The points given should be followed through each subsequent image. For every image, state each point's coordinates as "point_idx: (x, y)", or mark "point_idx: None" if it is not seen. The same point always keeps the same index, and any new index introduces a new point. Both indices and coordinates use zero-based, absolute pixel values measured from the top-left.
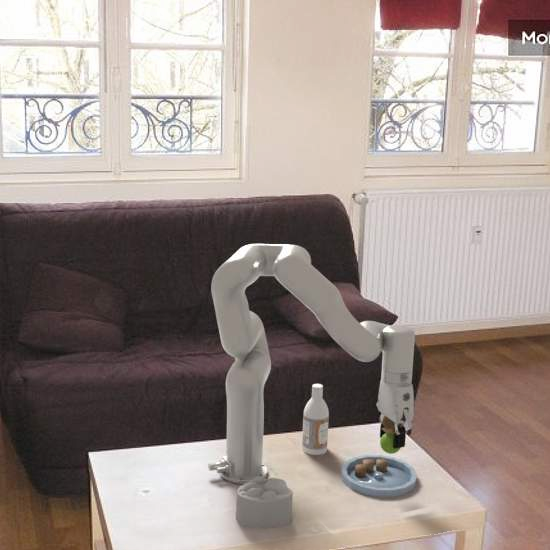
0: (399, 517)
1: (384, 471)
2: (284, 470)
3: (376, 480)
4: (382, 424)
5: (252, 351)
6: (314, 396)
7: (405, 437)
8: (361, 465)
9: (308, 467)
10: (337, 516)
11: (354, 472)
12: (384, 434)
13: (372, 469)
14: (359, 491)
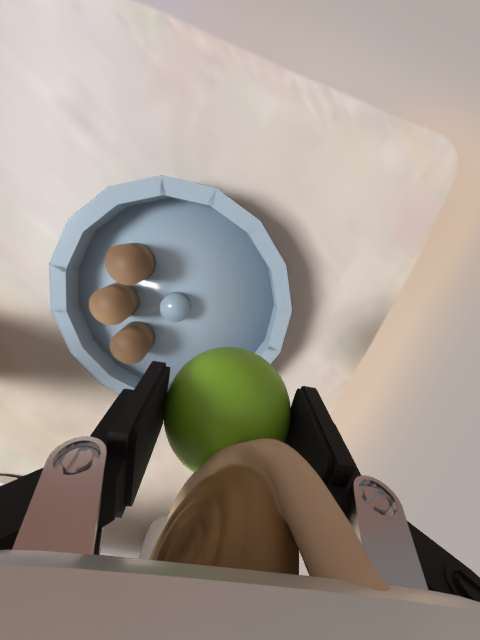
0: (340, 375)
1: (155, 265)
2: (28, 447)
3: (185, 319)
4: (123, 508)
5: None
6: None
7: (336, 429)
8: (121, 342)
9: (32, 399)
10: None
11: None
12: (194, 472)
13: (135, 298)
14: None
